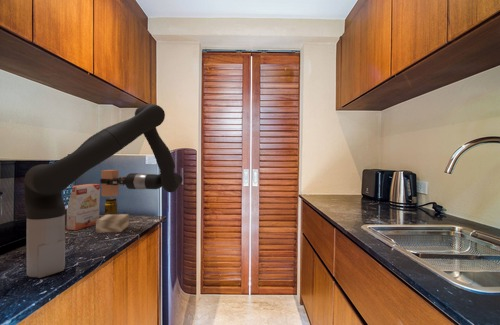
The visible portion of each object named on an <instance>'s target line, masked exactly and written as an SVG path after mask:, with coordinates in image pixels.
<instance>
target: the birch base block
mask: <svg viewBox="0 0 500 325" xmlns="http://www.w3.org/2000/svg"><path fill="white" fill-rule="evenodd" d="M129 215H130V214H129V213H125V214H124V213H121V214H120V213H119V214H118V213H117V214H113V215H105V214H104V215H102V216H101V217H99V219H97V220H96V224H95V233H121V232H123V231H124V230H125V229H126V228H127V227H128V226H129V224H130V223H129V218H130V217H129Z"/></svg>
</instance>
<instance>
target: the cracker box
mask: <svg viewBox="0 0 500 325" xmlns="http://www.w3.org/2000/svg"><path fill="white" fill-rule="evenodd" d="M72 186H73V187H72V192H71V195H70V198H69V203H68V208H67V207H66V225H65V230H69V231H78V230H81V229H85V228H88V227H91V226H93V225H94V226H96V220H97V219H99V218H100V203H101V202H100V201H101V200H100V199H101V183H100V184H99V183H87V184H78V185H72Z"/></svg>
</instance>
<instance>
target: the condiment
mask: <svg viewBox="0 0 500 325" xmlns="http://www.w3.org/2000/svg"><path fill="white" fill-rule="evenodd" d="M117 202H118V201H117V198H115V197H109V198H105V203H104V215H113V214H118V203H117Z"/></svg>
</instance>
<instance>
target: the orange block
mask: <svg viewBox="0 0 500 325" xmlns="http://www.w3.org/2000/svg"><path fill="white" fill-rule="evenodd" d="M118 177H119V169H104V170H103V169H102V170H101V179H113V178H118ZM114 196H119V185H116V186H115V185H106V184H101V197H114Z"/></svg>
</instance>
